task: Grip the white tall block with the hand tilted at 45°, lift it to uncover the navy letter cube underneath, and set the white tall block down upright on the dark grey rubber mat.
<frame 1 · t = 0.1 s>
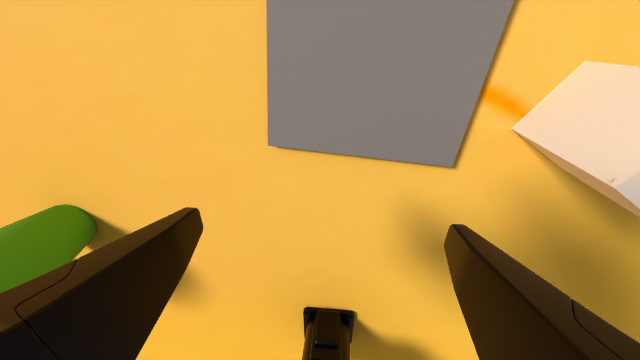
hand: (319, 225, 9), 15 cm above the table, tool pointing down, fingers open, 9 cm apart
mat: (375, 54, 20), on the table
cup: (77, 220, 31), on the table
white tall block: (571, 119, 21), on the table
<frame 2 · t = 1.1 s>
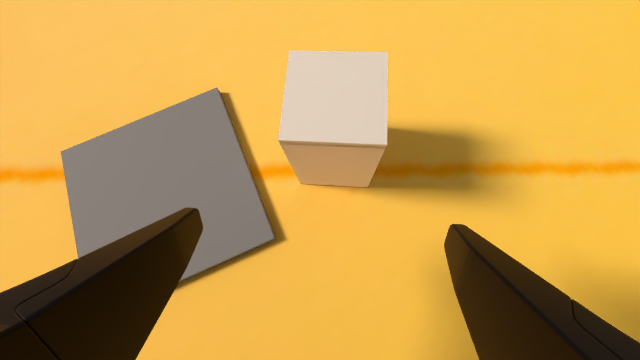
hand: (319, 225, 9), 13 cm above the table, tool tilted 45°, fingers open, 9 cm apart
mat: (165, 193, 24), on the table
white tall block: (335, 154, 24), on the table
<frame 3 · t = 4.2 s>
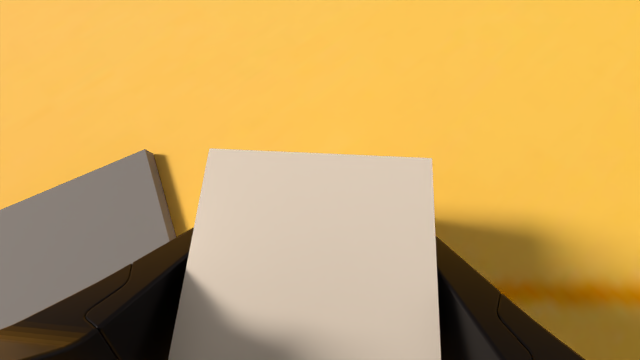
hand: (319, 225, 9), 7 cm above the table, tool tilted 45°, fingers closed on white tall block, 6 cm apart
mat: (54, 325, 15), on the table
white tall block: (324, 261, 15), on the table, touching gripper
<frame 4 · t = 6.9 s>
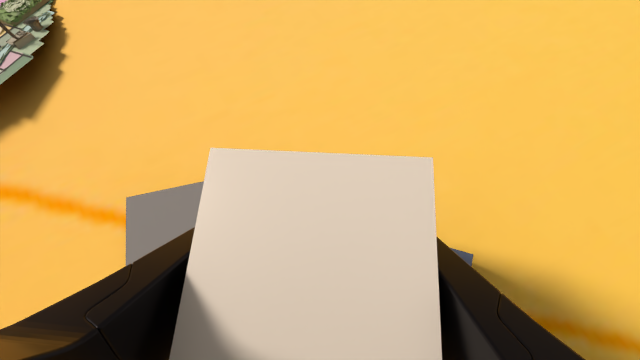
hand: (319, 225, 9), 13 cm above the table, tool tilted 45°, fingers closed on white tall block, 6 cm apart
mat: (225, 271, 22), on the table
white tall block: (325, 261, 15), point 7 cm above the table, touching gripper
when the fingers open (9 cm above the table, at t = 9.9 s): white tall block drops 1 cm, resting on mat.
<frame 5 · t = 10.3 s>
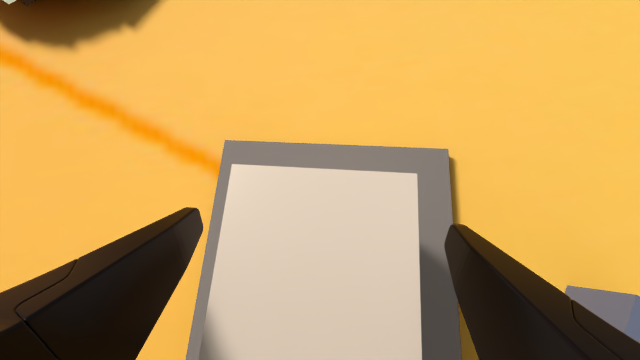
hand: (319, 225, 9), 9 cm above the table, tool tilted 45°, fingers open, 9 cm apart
mat: (326, 260, 18), on the table
letter cube: (589, 335, 16), on the table
white tall block: (326, 259, 17), point 1 cm above the table, touching mat
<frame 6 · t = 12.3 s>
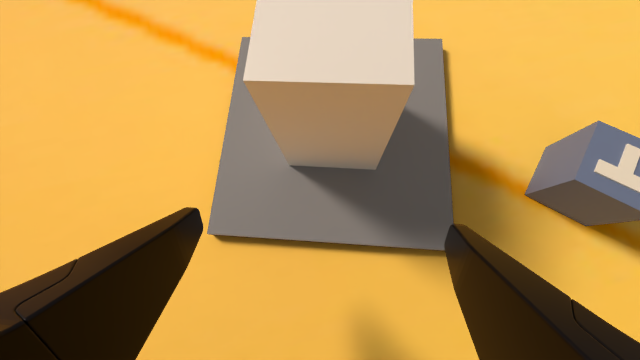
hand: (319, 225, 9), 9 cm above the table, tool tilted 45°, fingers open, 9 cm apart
mat: (333, 133, 20), on the table
letter cube: (564, 185, 18), on the table
white tall block: (334, 128, 19), point 1 cm above the table, touching mat
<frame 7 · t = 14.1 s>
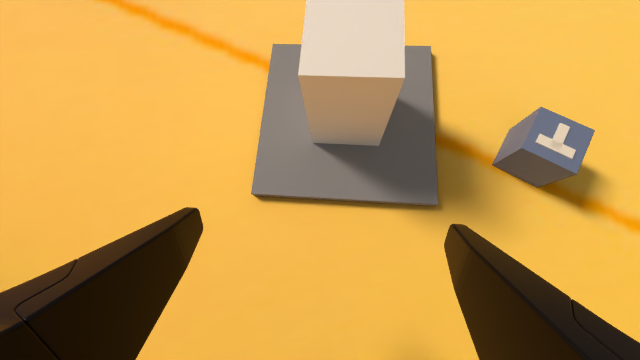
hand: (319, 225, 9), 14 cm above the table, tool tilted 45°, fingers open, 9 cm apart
mat: (346, 119, 26), on the table
letter cube: (522, 157, 24), on the table
white tall block: (347, 114, 25), point 1 cm above the table, touching mat
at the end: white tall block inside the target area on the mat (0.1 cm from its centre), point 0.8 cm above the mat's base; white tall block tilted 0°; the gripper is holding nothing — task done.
